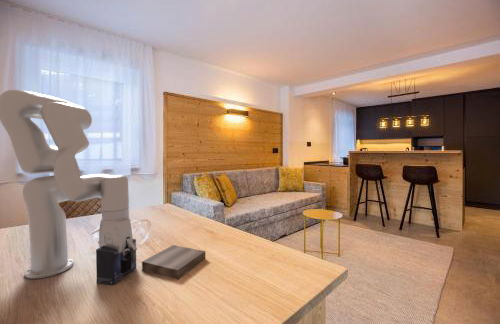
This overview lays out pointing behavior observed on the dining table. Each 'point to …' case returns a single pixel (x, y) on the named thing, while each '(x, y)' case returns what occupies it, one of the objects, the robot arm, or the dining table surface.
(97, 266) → the small box
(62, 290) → the dining table surface
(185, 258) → the plinth
